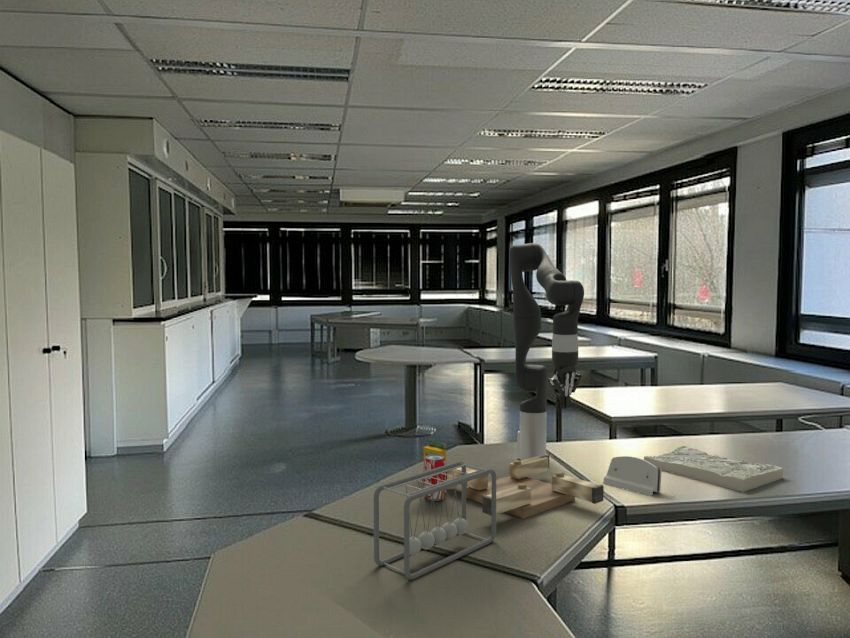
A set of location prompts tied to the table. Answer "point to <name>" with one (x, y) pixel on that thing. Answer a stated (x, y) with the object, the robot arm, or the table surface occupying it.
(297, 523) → the table surface
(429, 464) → the soda can
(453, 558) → the newton's cradle
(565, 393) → the robot arm
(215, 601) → the table surface
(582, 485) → the stool leg
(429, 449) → the crayon box
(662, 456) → the topographic model
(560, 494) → the stool seat
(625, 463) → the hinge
